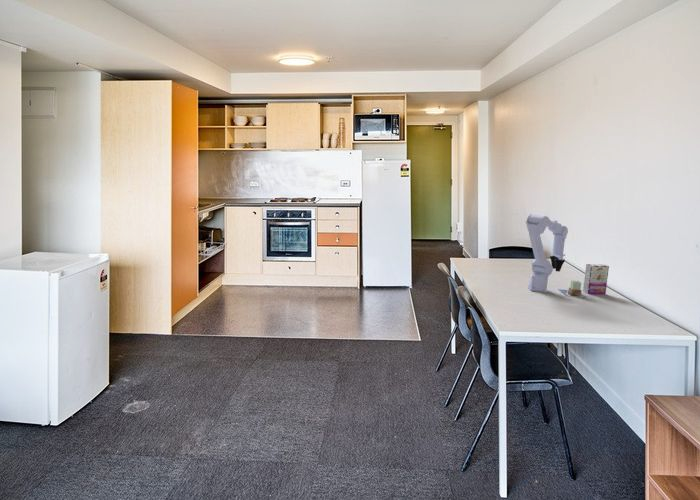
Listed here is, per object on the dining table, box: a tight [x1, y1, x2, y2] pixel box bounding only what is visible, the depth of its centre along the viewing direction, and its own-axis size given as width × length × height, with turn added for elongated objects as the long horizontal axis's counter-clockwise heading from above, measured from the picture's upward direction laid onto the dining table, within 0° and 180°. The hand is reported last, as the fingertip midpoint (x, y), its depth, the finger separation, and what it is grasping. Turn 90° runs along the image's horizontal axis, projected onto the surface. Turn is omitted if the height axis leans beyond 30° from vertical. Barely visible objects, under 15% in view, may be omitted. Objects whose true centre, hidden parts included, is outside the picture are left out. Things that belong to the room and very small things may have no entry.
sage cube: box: [569, 280, 582, 290], centre depth 272 cm, size 4×4×4 cm
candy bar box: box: [582, 263, 610, 295], centre depth 280 cm, size 11×5×16 cm, turn 101°
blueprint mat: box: [557, 288, 588, 299], centre depth 277 cm, size 11×16×1 cm
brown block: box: [568, 287, 583, 298], centre depth 273 cm, size 5×5×4 cm
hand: (555, 269), depth 289 cm, fingers open, 7 cm apart
